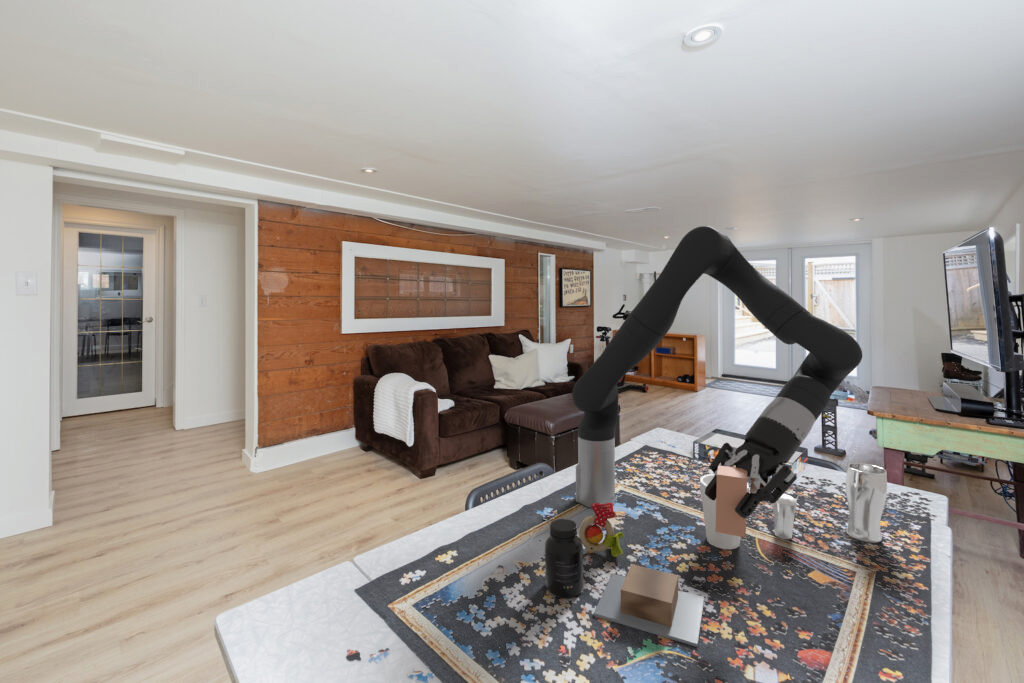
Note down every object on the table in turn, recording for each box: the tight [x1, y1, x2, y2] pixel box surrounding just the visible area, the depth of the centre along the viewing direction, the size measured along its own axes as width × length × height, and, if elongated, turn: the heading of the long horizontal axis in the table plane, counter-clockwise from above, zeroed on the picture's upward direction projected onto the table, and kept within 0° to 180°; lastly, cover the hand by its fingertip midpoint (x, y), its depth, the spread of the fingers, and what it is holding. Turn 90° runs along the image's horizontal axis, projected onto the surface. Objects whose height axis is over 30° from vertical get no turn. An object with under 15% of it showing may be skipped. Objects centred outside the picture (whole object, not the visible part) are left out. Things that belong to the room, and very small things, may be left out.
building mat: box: [593, 573, 705, 648], centre depth 77 cm, size 16×12×1 cm
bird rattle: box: [578, 503, 625, 558], centre depth 94 cm, size 6×11×9 cm
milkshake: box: [772, 491, 801, 540], centre depth 99 cm, size 4×5×10 cm
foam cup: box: [699, 473, 750, 550], centre depth 97 cm, size 10×9×13 cm
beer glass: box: [845, 462, 888, 544], centre depth 98 cm, size 7×7×15 cm
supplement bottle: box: [544, 518, 584, 599], centre depth 83 cm, size 7×7×12 cm
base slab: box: [621, 563, 679, 627], centre depth 77 cm, size 8×8×4 cm
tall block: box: [716, 464, 748, 538], centre depth 78 cm, size 4×4×10 cm
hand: (723, 505), depth 77 cm, fingers closed on tall block, 6 cm apart
